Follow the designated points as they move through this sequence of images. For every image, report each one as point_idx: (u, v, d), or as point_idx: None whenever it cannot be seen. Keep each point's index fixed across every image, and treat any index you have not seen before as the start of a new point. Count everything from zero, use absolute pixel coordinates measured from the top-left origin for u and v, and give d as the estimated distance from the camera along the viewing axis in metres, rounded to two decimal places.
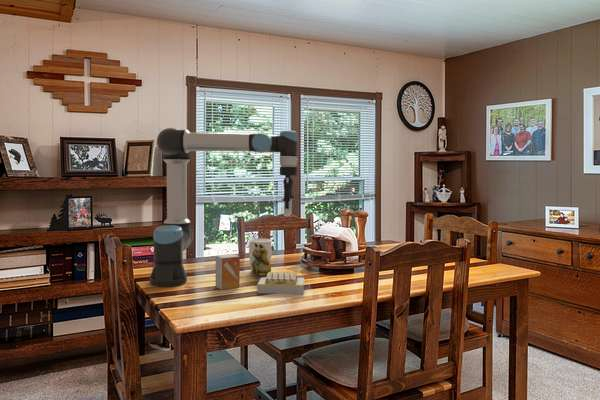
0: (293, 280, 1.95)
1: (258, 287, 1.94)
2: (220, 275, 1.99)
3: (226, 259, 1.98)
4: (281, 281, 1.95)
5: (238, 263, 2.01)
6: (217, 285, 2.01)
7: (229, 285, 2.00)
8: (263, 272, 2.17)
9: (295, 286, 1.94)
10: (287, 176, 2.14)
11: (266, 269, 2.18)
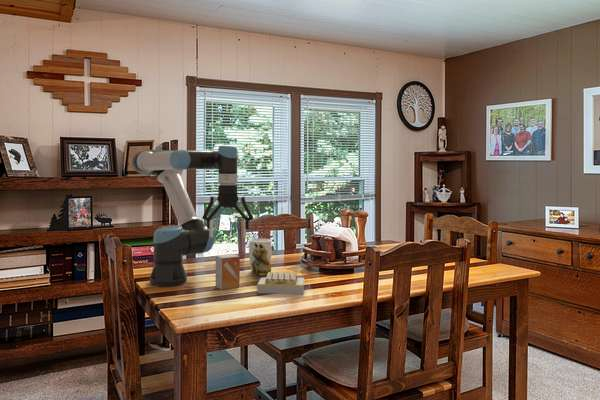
0: (293, 280, 1.95)
1: (258, 287, 1.94)
2: (220, 275, 1.99)
3: (226, 259, 1.98)
4: (281, 281, 1.95)
5: (238, 263, 2.01)
6: (217, 285, 2.01)
7: (229, 285, 2.00)
8: (263, 272, 2.17)
9: (295, 286, 1.94)
10: None
11: (266, 269, 2.18)
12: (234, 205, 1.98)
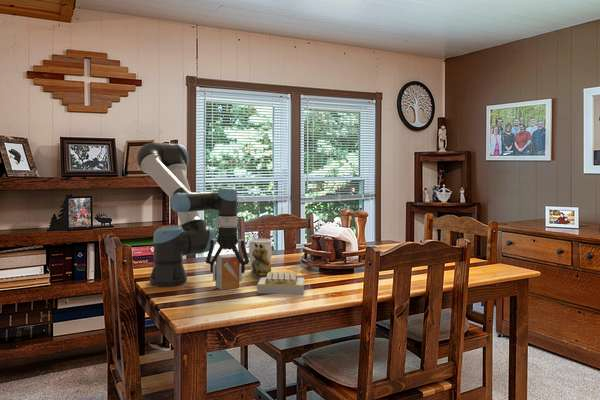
0: (293, 280, 1.95)
1: (258, 287, 1.94)
2: (220, 275, 1.98)
3: (226, 259, 1.98)
4: (281, 281, 1.95)
5: (238, 263, 2.01)
6: (217, 285, 2.01)
7: (229, 285, 2.00)
8: (263, 272, 2.17)
9: (295, 286, 1.94)
10: None
11: (266, 269, 2.18)
12: (233, 248, 2.00)
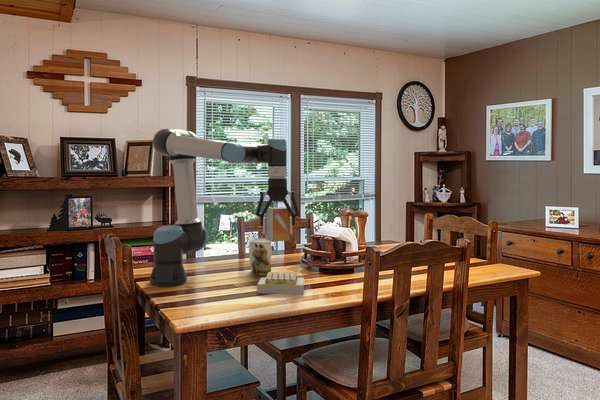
0: (293, 280, 1.95)
1: (258, 287, 1.94)
2: (271, 227, 1.95)
3: (277, 210, 1.95)
4: (281, 281, 1.95)
5: (288, 215, 1.98)
6: (267, 238, 1.98)
7: (280, 237, 1.96)
8: (263, 272, 2.17)
9: (295, 286, 1.94)
10: None
11: (266, 269, 2.18)
12: (283, 199, 1.96)
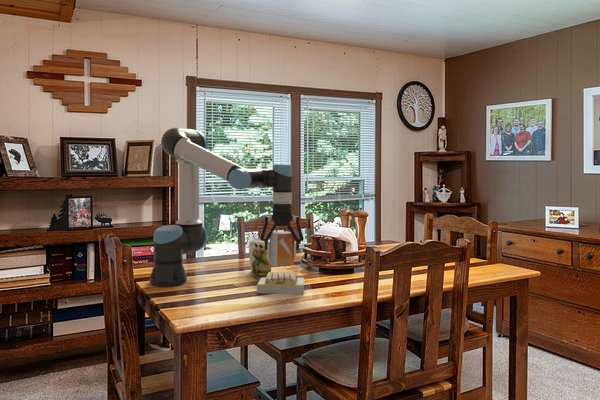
0: (293, 280, 1.95)
1: (258, 287, 1.94)
2: (275, 252, 1.96)
3: (282, 235, 1.96)
4: (281, 281, 1.95)
5: (293, 240, 1.99)
6: (272, 262, 1.99)
7: (284, 262, 1.97)
8: (263, 272, 2.17)
9: (295, 286, 1.94)
10: None
11: (266, 269, 2.18)
12: (288, 224, 1.97)
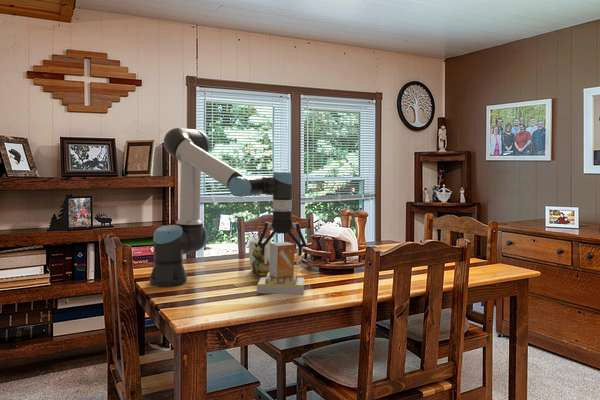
0: (293, 280, 1.95)
1: (258, 287, 1.94)
2: (275, 263, 1.96)
3: (282, 247, 1.96)
4: (281, 281, 1.95)
5: (293, 251, 1.99)
6: (271, 273, 1.99)
7: (284, 273, 1.98)
8: (263, 272, 2.17)
9: (295, 286, 1.94)
10: None
11: (266, 269, 2.18)
12: (288, 231, 1.98)
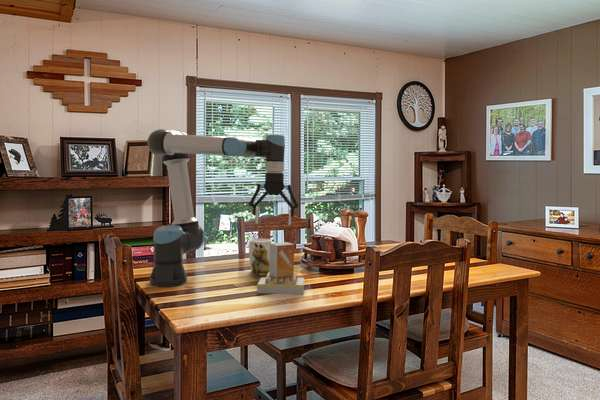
0: (293, 280, 1.95)
1: (258, 287, 1.94)
2: (275, 263, 1.96)
3: (282, 247, 1.96)
4: (281, 281, 1.95)
5: (292, 251, 1.99)
6: (271, 273, 1.99)
7: (284, 273, 1.98)
8: (263, 272, 2.17)
9: (295, 286, 1.94)
10: (265, 182, 2.04)
11: (266, 269, 2.18)
12: (280, 193, 2.02)
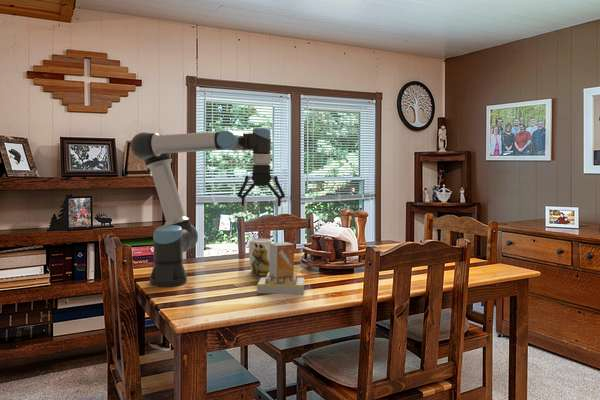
0: (293, 280, 1.95)
1: (258, 287, 1.94)
2: (275, 263, 1.96)
3: (282, 247, 1.96)
4: (281, 281, 1.95)
5: (292, 251, 1.99)
6: (271, 273, 1.99)
7: (284, 273, 1.98)
8: (263, 272, 2.17)
9: (295, 286, 1.94)
10: None
11: (266, 269, 2.18)
12: (267, 184, 2.11)
